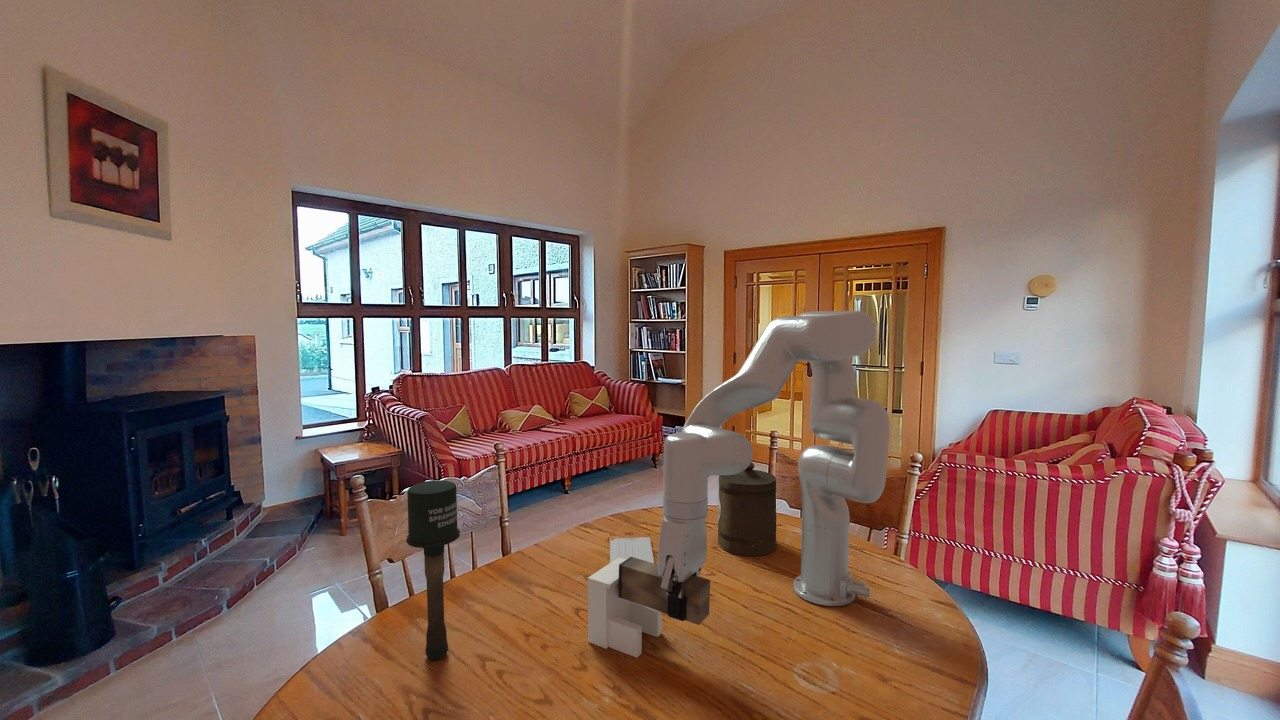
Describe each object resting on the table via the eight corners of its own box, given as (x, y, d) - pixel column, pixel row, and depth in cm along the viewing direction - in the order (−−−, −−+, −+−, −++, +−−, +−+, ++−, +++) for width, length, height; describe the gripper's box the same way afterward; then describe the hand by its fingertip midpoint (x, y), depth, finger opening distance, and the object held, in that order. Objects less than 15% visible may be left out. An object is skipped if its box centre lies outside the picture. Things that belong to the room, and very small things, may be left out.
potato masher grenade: (432, 677, 88) (426, 497, 86) (399, 660, 93) (393, 488, 91) (473, 650, 95) (469, 484, 93) (441, 635, 100) (436, 476, 98)
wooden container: (740, 529, 151) (741, 451, 150) (787, 545, 140) (788, 461, 139) (706, 544, 141) (706, 461, 140) (753, 562, 130) (754, 472, 129)
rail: (709, 614, 92) (710, 580, 92) (698, 625, 89) (700, 589, 88) (630, 587, 100) (631, 556, 100) (618, 596, 97) (618, 564, 97)
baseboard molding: (602, 605, 112) (660, 603, 112) (602, 591, 112) (660, 590, 112) (604, 543, 143) (649, 542, 143) (604, 533, 143) (649, 532, 143)
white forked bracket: (663, 631, 101) (663, 569, 100) (634, 659, 93) (634, 592, 92) (619, 616, 106) (618, 557, 106) (588, 641, 98) (587, 577, 97)
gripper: (687, 490, 100) (685, 586, 102) (640, 517, 86) (638, 628, 87) (725, 497, 96) (722, 597, 98) (682, 526, 82) (680, 643, 83)
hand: (683, 610), depth 92 cm, fingers closed on rail, 4 cm apart
